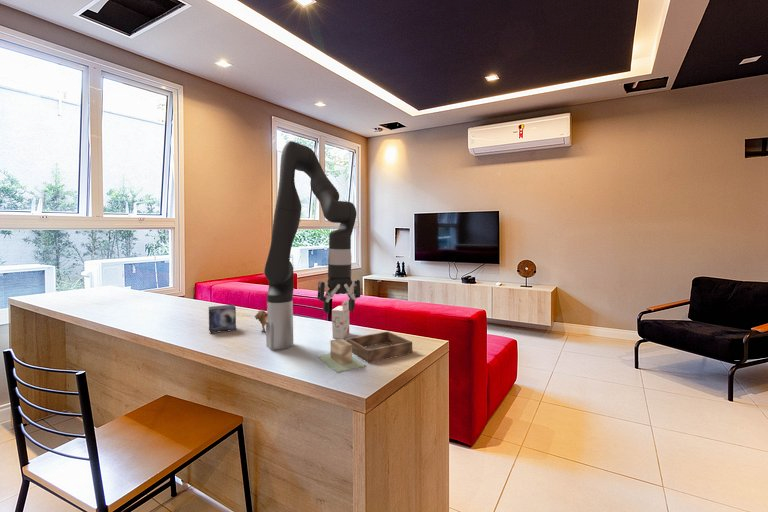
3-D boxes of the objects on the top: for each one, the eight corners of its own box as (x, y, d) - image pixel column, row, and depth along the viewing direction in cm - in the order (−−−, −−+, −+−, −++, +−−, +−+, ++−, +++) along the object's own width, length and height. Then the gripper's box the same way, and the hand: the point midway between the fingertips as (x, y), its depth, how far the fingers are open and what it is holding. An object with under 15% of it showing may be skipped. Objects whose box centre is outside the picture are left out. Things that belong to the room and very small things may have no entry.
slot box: (368, 362, 120) (368, 350, 120) (346, 349, 133) (346, 338, 133) (412, 352, 130) (412, 341, 129) (387, 341, 143) (387, 331, 143)
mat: (337, 372, 112) (337, 371, 112) (317, 357, 125) (317, 356, 125) (366, 366, 117) (366, 364, 117) (343, 352, 131) (343, 350, 131)
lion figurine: (253, 330, 158) (252, 310, 158) (263, 328, 162) (263, 308, 162) (274, 336, 149) (273, 315, 149) (284, 333, 154) (284, 312, 153)
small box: (209, 334, 154) (208, 309, 153) (208, 330, 159) (207, 306, 159) (236, 330, 159) (235, 306, 158) (234, 327, 164) (234, 304, 164)
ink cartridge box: (338, 332, 156) (338, 298, 155) (349, 333, 155) (349, 298, 154) (331, 338, 147) (331, 302, 146) (343, 339, 146) (343, 302, 145)
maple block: (340, 365, 117) (340, 346, 116) (330, 357, 124) (330, 340, 123) (352, 362, 119) (351, 344, 118) (341, 355, 126) (341, 338, 125)
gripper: (323, 264, 112) (323, 316, 113) (364, 263, 119) (363, 312, 120) (314, 262, 118) (314, 311, 119) (354, 261, 125) (353, 307, 127)
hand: (339, 312), depth 120 cm, fingers open, 8 cm apart
